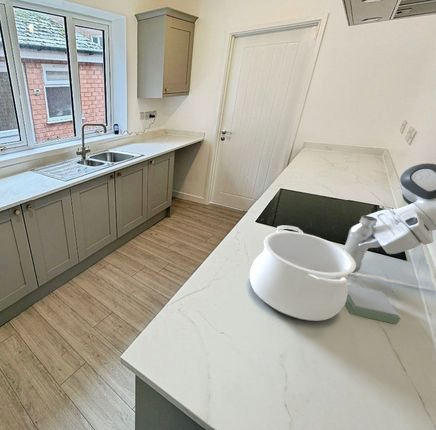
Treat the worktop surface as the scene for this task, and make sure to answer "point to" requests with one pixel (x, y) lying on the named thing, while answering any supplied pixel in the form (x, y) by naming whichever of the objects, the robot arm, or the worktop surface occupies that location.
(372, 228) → the plastic bottle
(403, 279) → the worktop surface
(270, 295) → the pot
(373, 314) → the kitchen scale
